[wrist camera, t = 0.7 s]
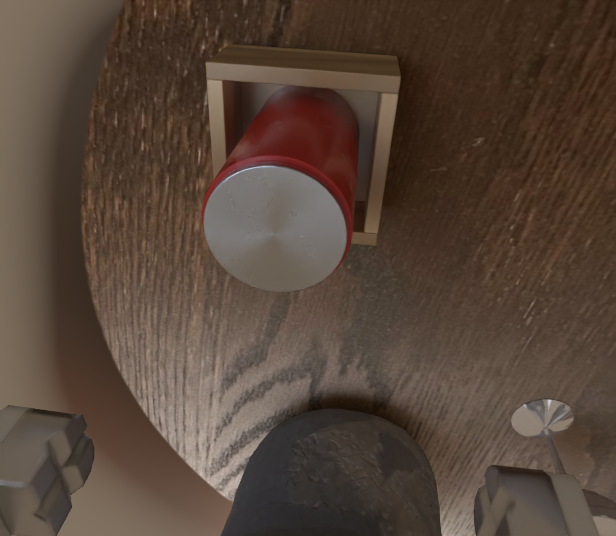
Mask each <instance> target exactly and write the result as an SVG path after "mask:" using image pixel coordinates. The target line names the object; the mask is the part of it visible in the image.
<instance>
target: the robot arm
mask: <svg viewBox="0 0 616 536" xmlns="http://www.w3.org/2000/svg"><path fill="white" fill-rule="evenodd" d="M86 427H87V424H86V422H85V419H84V417H83V415H76V414H69V413H62V412H55V411H47V410H40V409H34V408H26V407H18V406H10V405H8V406H7V407H5V408H4V409H2V410H0V536H11V535H14V536H57V534H58V532H59V530H60V528H61V527H62V525H63V523H64V521H65V519H66V517H67V516H68V514H69V512H70V510H71V508H72V504H71V496H70V495H72V494H73V493H74V492H76V491H77V490H78V489H80V488H81V487H83V486H84V484H85V481H86V480H87V478H88V476H89V474H90V472H91V468H92V464H93V460H94V445H93V442H92V439H90V438H89V437H88V436H87V435H86V434H84V433H83V432H84V430H85V429H86ZM484 476H485V481H486V485H485V486H483V487H481V488H479V489H478V492H477V495H476V498H475V505H474V524H475V531H476V536H600V535H599V532H598V530H597V527H596V525H595V522H594V519H593V517H592V514H591V512H590V509H589V507H588V504H587V501H586V499H585V496H584V494H583V491H582V489H581V486H580V483H579V481H578V480H577V479H576V478H575V476H574V475H571V474H564V473H554V472H545V471H543V470H535V469H525V468H516V467H507V466H497V465H491V466H489V467H488V468H487V470H486V473H485V475H484Z"/></svg>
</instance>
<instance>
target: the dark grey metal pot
mask: <svg viewBox="0 0 616 536" xmlns="http://www.w3.org/2000/svg"><path fill="white" fill-rule="evenodd" d="M221 536H442V534H441V525H440V508H439V502H438V494H437V488H436V481H435V478H434V474H433V471H432V468H431V466H430V463H429V461H428V459H427V456H426V455H425V453H424V452H423V450H422V448H421V447H420V446H419V445H418V443H417V442H416V441H415V440H414V439H413V438H412V437H411V436H410V435H409V434H408V433H407V432H406V431H405V430H404V429H402V428H401V427H399V426H397V425H395V424H393V423H391V422H389V421H387V420H385V419H384V418H381V417H378V416H374V415H371V414H367V413H363V412H359V411H352V410H345V409H320V410H314V411H309V412H304V413H301V414H298V415H296V416H294V417H292V418H290V419H288V420H286V421H284V422H282V423H280V424H278V425H277V426H276V427H275V428H273V429H272V430H271V432H270V433H269V434H268V435H267V436H266V437H265V438H264V439H263V440H262V442H261V443H260V444H259V446H258V447H257V449H256V450H255V451H254V453H253V454H252V456H251V457H250V459H249V462H248V464H247V466H246V469H245V471H244V474H243V476H242V479H241V481H240V484H239V487H238V489H237V492H236V495H235V499H234V502H233V506H232V510H231V513H230V515H229V517H228V519H227V522H226V524H225V527H224V529H223V532H222V534H221Z"/></svg>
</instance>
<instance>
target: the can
mask: <svg viewBox="0 0 616 536" xmlns="http://www.w3.org/2000/svg"><path fill="white" fill-rule="evenodd" d="M359 138H360V133H359V126H358V121H357V118H356V116H355V114H354V112H353V110H352V108H351V107H350V105H349V104H348V102H347V101H346V100H345V99H344V98H343V97H342V96H341V95H339V94H338V93H337V92H335V91H334V90H332V89H330V88H318V87H305V86H292V85H288V86H285V87H283V88H281V89H279V90H278V91H276V92H275V93H274V94H272V95H271V96H270V97H269V98H268V99H267V101H266V102H265V103H264V105H263V106H262V108H261V109H260V111H259V112H258V114H257V115H256V117H255V118H254V120H253V121H252V123H251V124H250V126H249V127H248V129H247V130H246V132H245V133H244V135H243V136H242V138H241V140H240V141H239V143H238V144H237V146H236V147H235V149H234V150H233V152H232V153H231V155H230V156H229V158H228V159H227V161H226V162H225V164H224V165H223V167H222V168H221V170H220V171H219V173H218V174H217V176H216V177H215V179H214V180H213V182H212V184H211V185H210V187H209V189H208V191H207V193H206V195H205V198H204V202H203V208H202V223H203V229H204V233H205V237H206V241H207V244H208V246H209V248H210V250H211V252H212V254H213V255H214V257H215V258H216V260H217V261H218V262H219V264H220V265H221V266H222V267H223V268H224V269H225V270H226V271H227V272H229V273H230V274H231V275H232V276H234V277H235V278H237V279H238V280H240V281H242V282H244V283H246V284H248V285H250V286H253V287H255V288H258V289H262V290H266V291H273V292H292V291H299V290H302V289H306V288H309V287H311V286H314V285H316V284H317V283H319V282H321V281H323V280H324V279H325V278H326V277H328V276H329V275H330V274H331V273H332V272H333V271H334V270H335V269H336V268H337V267H338V266H339V265H340V264H341V263H342V261H343V260H344V258H345V257H346V255H347V253H348V251H349V248H350V245H351V241H352V236H353V224H354V210H355V196H356V182H357V167H358V153H359Z"/></svg>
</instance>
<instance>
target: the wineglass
mask: <svg viewBox="0 0 616 536" xmlns="http://www.w3.org/2000/svg"><path fill="white" fill-rule="evenodd" d="M573 419H574V414H573V411H572V410H571V408H570V407H569V406H568V405H566V404H564V403H563V402H559V401H556V400H544V399H543V400H537V401H532V402H529V403H527V404H524V405H523V406H521V407H520V408H518V409H517V410H516V411H515V412H514V414H513V415H512V419H511V423H512V427H513V428H514V429H515V430H516V431H517V432H518V433H520V434H522V435H524V436H528V437H531V438H546V441H547V444H548V448H549V451H550V455H551V458H552V462H553V465H554V468H555V472H556V473H564V474H566V472H565V469H564V467H563V464H562V462H561V459H560V457H559V455H558V452H557V450H556V447H555V445H554V442H553V440H552V437H551V436H554V435H557V434H560V433H562V432H563V431H565V430H567V429H568V427H569V426H570V425H571V424H572V422H573ZM582 491H583V494H584V496H585V499H586V501H587V504H588V507H589V509H590V512H591V514H592V517H593V519H594V522H595V525H596V527H597V530H598V532H599V535H600V536H616V502H614V501H612V500H610V499H608V498H606V497H604V496H602V495H600V494H598V493H596V492H594V491H591V490H587V489H582Z"/></svg>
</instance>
